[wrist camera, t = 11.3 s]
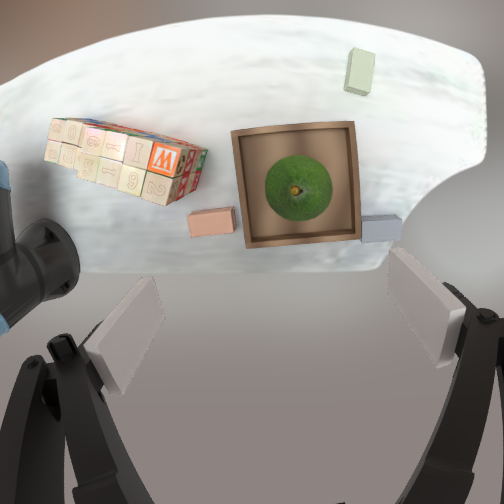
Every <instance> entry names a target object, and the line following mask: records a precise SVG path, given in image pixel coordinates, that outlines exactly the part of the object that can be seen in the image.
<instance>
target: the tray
mask: <svg viewBox="0 0 504 504" xmlns="http://www.w3.org/2000/svg"><path fill="white" fill-rule="evenodd" d="M231 137H232V145H233V153H234V161H235V168H236V176H237V184H238V191H239V199H240V207H241V214H242V222H243V229H244V237H245V244H246V249H250V248H262V247H273V246H285V245H297V244H309V243H320V242H332V241H344V240H356V239H361V202H360V182H359V166H358V154H357V143H356V133H355V124H354V121H338V122H315V123H300V124H287V125H276V126H266V127H257V128H249V129H241V130H234V131H231ZM294 155H301V156H307V157H310V158H312V159H315V160H316V161H318V162H319V163H321V164H322V165H323V166H324V167H325V169H326V170H327V171H328V173H329V175H330V178H331V180H332V186H333V193H332V199H331V201H330V204H329V206H328V207H327V209H326V210H325V211H324V212H323V213H322V214H320V215H319V216H317V217H316V218H313V219H310V220H307V221H291V220H287V219H284V218H283V217H281V216H280V215H278V214H277V213H276V212H275V211H274V210H273V209H272V208H271V207H270V205H269V203H268V201H267V199H266V194H265V179H266V176H267V173H268V171H269V170H270V168H271V167H272V166H273V165H274V164H275V163H276V162H278V161H279V160H280V159H283V158H285V157H288V156H294Z"/></svg>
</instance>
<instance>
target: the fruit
mask: <svg viewBox="0 0 504 504" xmlns="http://www.w3.org/2000/svg"><path fill="white" fill-rule="evenodd" d="M332 193H333V186H332V180H331V178H330V175H329V173H328V171H327V170H326V169H325V167H324V166H323V165H322V164H321V163H319V162H318V161H316V160H315V159H312V158H310V157H307V156H301V155H294V156H288V157H285V158H283V159H280V160H279V161H278V162H276V163H275V164H274V165H273V166H272V167H271V168H270V170H269V171H268V173H267V176H266V179H265V194H266V199H267V201H268V203H269V205H270V207H271V208H272V209H273V210H274V211H275V212H276V213H277V214H278V215H280V216H281V217H283V218H284V219H287V220H291V221H307V220H310V219H313V218H316V217H317V216H319V215H320V214H322V213H323V212H324V211H325V210H326V209H327V207H328V206H329V204H330V201H331V199H332Z"/></svg>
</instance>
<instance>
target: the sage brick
mask: <svg viewBox="0 0 504 504" xmlns="http://www.w3.org/2000/svg"><path fill="white" fill-rule="evenodd" d="M374 61H375V54H374V53H371V52H368V51H365V50H362V49H358V48H355V47H354V48H353V49H352V50H351V52H350V53H349V59H348V66H347V72H346V79H345V85H344V90H345V91H348V92H352V93H355V94H359V95H362V96H365V95H367V94H369V93H370V90H371V83H372V76H373V69H374Z"/></svg>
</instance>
